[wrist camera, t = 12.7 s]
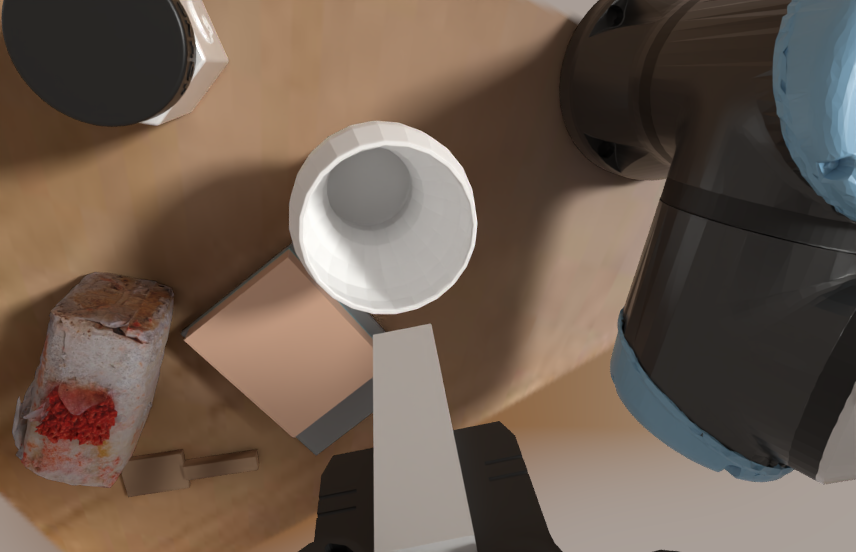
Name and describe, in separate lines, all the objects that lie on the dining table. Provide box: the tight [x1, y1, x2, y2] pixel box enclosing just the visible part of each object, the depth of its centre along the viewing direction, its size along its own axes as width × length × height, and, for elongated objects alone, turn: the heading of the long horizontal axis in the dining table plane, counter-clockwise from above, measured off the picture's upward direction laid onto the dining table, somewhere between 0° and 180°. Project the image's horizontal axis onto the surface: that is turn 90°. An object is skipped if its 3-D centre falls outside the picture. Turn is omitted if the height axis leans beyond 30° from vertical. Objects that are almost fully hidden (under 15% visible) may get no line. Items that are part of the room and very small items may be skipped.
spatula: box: [121, 449, 259, 497], centre depth 49 cm, size 11×4×1 cm, turn 93°
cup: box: [289, 121, 477, 314], centre depth 37 cm, size 11×11×15 cm
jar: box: [2, 0, 228, 127], centre depth 33 cm, size 9×8×12 cm
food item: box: [12, 272, 174, 488], centre depth 40 cm, size 14×8×10 cm, turn 161°
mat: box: [181, 243, 385, 455], centre depth 48 cm, size 16×12×1 cm
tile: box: [184, 248, 373, 438], centre depth 45 cm, size 2×10×12 cm
